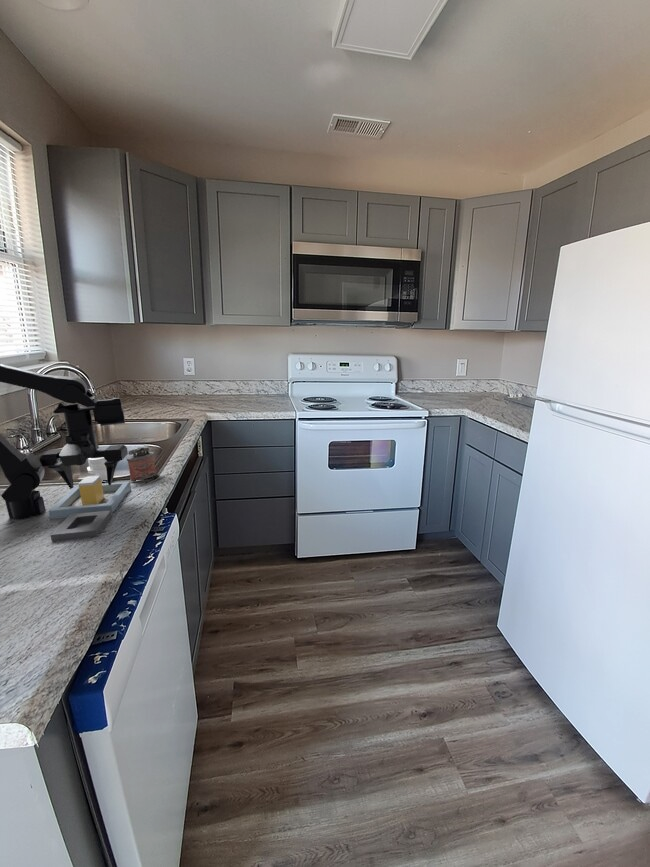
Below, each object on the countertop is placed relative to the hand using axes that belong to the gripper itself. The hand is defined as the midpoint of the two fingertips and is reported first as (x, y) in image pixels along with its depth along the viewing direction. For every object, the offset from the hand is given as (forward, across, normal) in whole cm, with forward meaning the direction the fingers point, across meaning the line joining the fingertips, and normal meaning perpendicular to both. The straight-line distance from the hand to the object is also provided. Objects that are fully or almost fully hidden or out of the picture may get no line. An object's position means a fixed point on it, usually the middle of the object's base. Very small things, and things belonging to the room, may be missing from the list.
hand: (91, 486), depth 104 cm
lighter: (+6, +8, +18) cm, 20 cm away
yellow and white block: (+5, 0, 0) cm, 5 cm away
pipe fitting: (+6, -4, +18) cm, 19 cm away
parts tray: (+5, 0, 0) cm, 5 cm away
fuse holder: (+5, +3, -15) cm, 16 cm away
